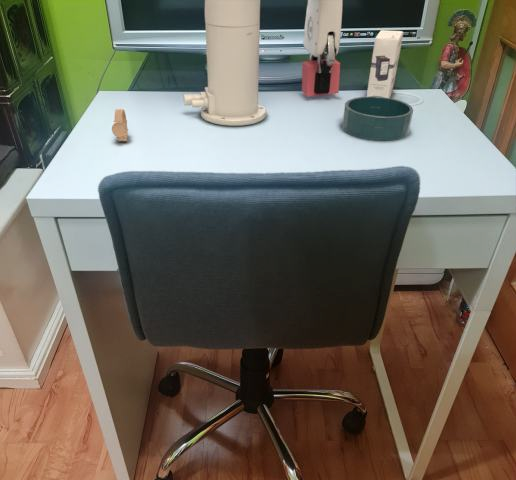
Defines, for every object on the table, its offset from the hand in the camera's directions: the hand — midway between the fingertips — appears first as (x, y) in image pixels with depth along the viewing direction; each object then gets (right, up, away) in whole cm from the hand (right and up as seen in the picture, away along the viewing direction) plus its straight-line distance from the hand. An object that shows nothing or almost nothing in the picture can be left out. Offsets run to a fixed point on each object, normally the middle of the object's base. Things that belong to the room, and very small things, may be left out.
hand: (318, 88), depth 109 cm
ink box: (+14, 0, +3) cm, 14 cm away
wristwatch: (-36, -19, -20) cm, 46 cm away
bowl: (+9, -14, -14) cm, 22 cm away
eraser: (0, 0, +1) cm, 1 cm away
